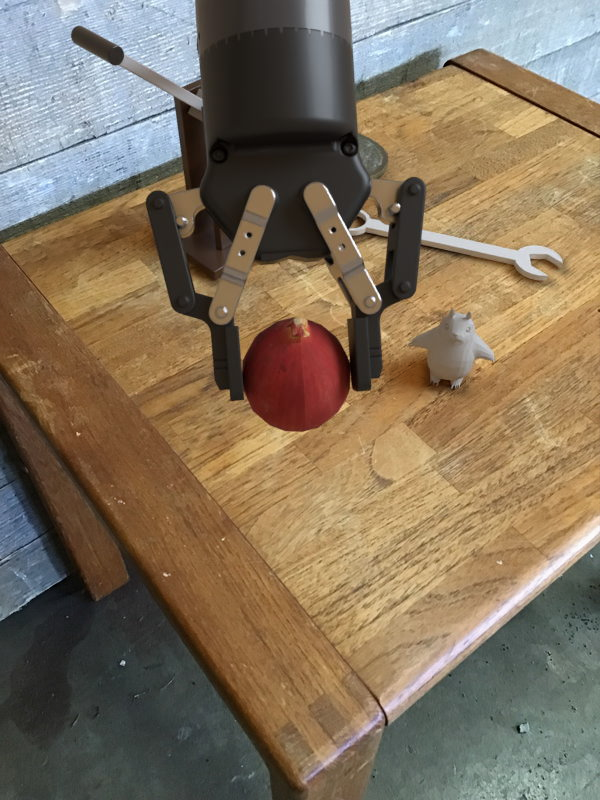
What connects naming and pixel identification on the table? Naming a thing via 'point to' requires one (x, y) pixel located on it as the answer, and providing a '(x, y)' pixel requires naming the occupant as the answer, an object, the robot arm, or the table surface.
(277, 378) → the onion
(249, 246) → the robot arm
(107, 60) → the silver and black bar
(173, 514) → the table surface
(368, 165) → the lid
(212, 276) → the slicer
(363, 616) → the table surface
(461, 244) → the wrench
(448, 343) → the figurine
